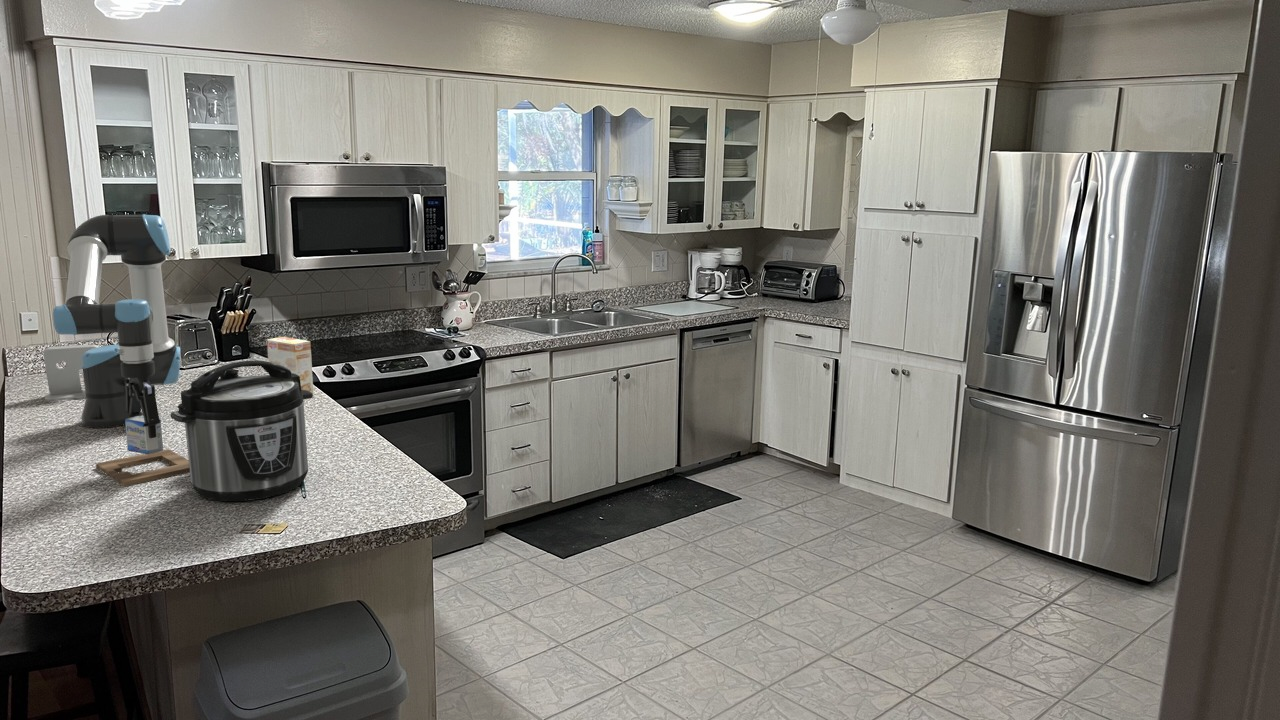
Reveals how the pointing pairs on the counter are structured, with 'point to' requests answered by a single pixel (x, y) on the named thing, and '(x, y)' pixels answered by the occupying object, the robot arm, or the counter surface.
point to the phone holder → (65, 371)
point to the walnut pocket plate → (126, 478)
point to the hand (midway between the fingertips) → (145, 445)
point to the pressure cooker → (245, 432)
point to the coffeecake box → (293, 358)
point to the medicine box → (140, 435)
